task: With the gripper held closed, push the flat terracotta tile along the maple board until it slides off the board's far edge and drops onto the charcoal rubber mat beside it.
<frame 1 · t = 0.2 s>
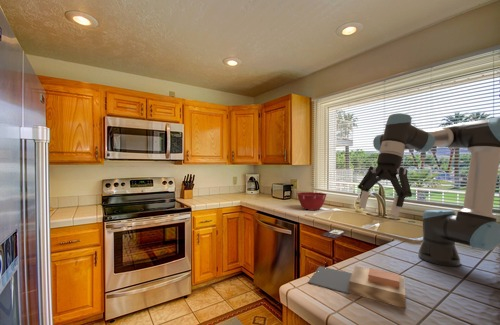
hand: (376, 211, 83), 27 cm above the countertop, tool tilted 15°, fingers open, 13 cm apart
mat: (332, 279, 89), on the countertop
mixing bowl: (311, 209, 232), on the countertop
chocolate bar: (333, 235, 147), on the countertop
board: (377, 290, 81), on the countertop
tile: (383, 280, 80), point 4 cm above the countertop, touching board
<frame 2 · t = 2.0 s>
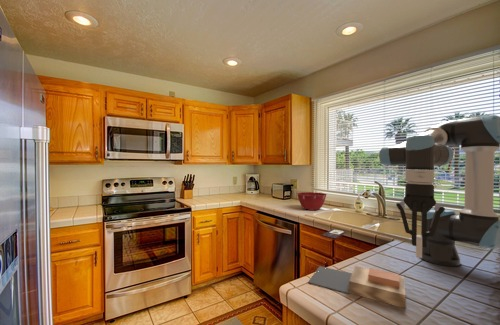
hand: (418, 256, 75), 14 cm above the countertop, tool pointing down, fingers closed
nothing on the countertop moved.
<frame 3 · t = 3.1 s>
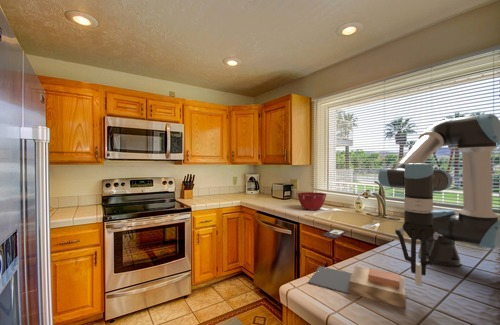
hand: (418, 283, 75), 5 cm above the countertop, tool pointing down, fingers closed
nothing on the countertop moved.
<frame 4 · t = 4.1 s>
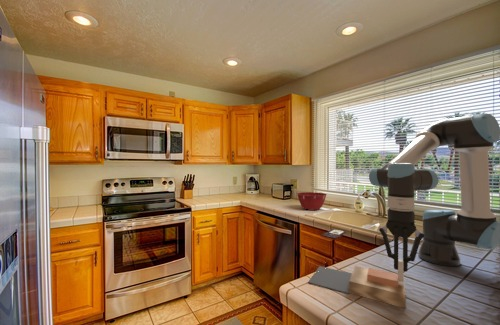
hand: (400, 279, 78), 5 cm above the countertop, tool pointing down, fingers closed
tile: (382, 280, 80), point 4 cm above the countertop, touching board, gripper
everything else where it was.
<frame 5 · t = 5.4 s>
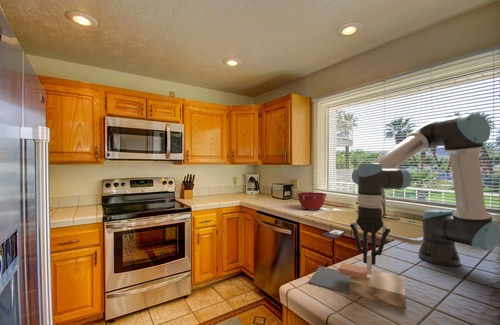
hand: (369, 272, 82), 6 cm above the countertop, tool pointing down, fingers closed
tile: (353, 273, 85), point 4 cm above the countertop, touching gripper
everything else where it was.
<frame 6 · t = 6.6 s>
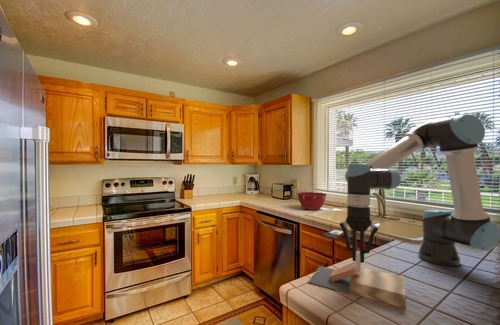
hand: (358, 270, 84), 5 cm above the countertop, tool pointing down, fingers closed
tile: (345, 275, 87), point 3 cm above the countertop, tilted 29°, touching board, gripper, mat
everything else where it was.
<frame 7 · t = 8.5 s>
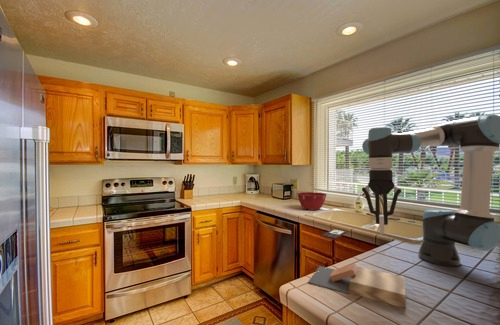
hand: (382, 233, 86), 19 cm above the countertop, tool pointing down, fingers closed
tile: (345, 275, 87), point 3 cm above the countertop, tilted 29°, touching board, mat
everything else where it was.
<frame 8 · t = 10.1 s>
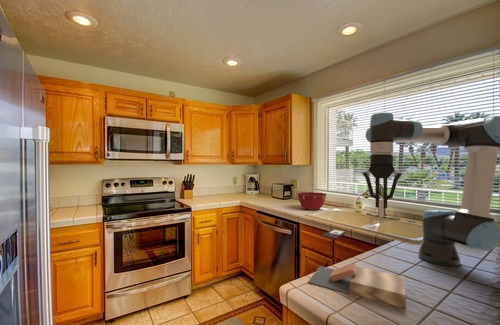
hand: (381, 216, 88), 24 cm above the countertop, tool pointing down, fingers closed
nothing on the countertop moved.
at the end: tile inside the target area on the mat (4.5 cm from its centre), point 2.6 cm above the mat's base; tile point 2.6 cm above the countertop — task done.
